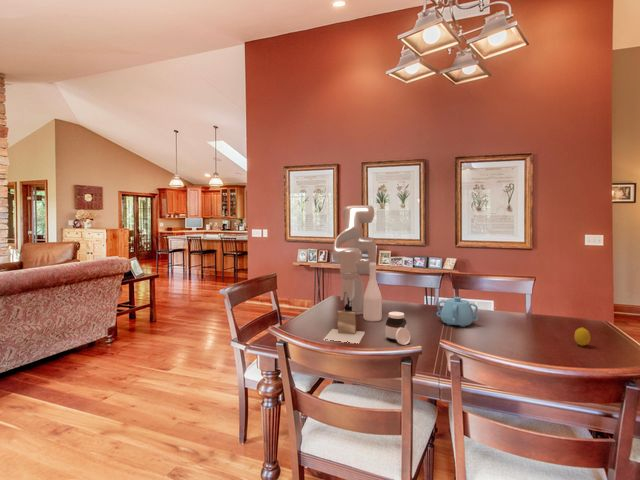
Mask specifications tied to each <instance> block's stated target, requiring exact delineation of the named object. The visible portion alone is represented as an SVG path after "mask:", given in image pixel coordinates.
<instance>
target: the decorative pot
mask: <svg viewBox="0 0 640 480" xmlns="http://www.w3.org/2000/svg"><path fill="white" fill-rule="evenodd" d="M461 298H462V297H459V296H454V297H453V298H448V299H446V300H443V299H441V300H440V301H438V302H437V308H438V311H437V312H436V316H437V317H439V318H441V321H442V323H445V324H446V326H459V327H461V328H466V327H467V326H470V325H471V324H472V323H473V321H474V322H477V321H479V316H478V315H477V313H478V309H479V307H478V305H477V304H475V303H473V302H469V301H468V300H466V299H461ZM441 303H442V304H443V303H444V304H443V306H442V308H441ZM472 307H474V308H475V310H474V311H473V308H472Z"/></svg>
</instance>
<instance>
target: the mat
mask: <svg viewBox="0 0 640 480" xmlns="http://www.w3.org/2000/svg"><path fill="white" fill-rule="evenodd" d="M327 333H328V334H326V335H325V337H324V338H323V339H322V341H323V340H324V342H331V341H330V340H334V341H341V342H340V343H344V342H347V341H348V342H350V343H348V342H347V343H346V344H354V343H356V344H355V345H357V343H358V345H359V344H360V342H361V341H362V338H364V335H365V333H366V331H363V330H362V331H360V330H359V331H358V330H356V333H355V334H345V333H338V328H336V329H335V328H331V329H330V331H329V332H327ZM325 339H328V340H326V341H325Z"/></svg>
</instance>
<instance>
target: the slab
mask: <svg viewBox="0 0 640 480" xmlns="http://www.w3.org/2000/svg"><path fill="white" fill-rule="evenodd" d="M337 329H338V333H345V334H355V333H356V331H357V315H356V311H345V310H344V309H343V310H342V309H339V310H337Z"/></svg>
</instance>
